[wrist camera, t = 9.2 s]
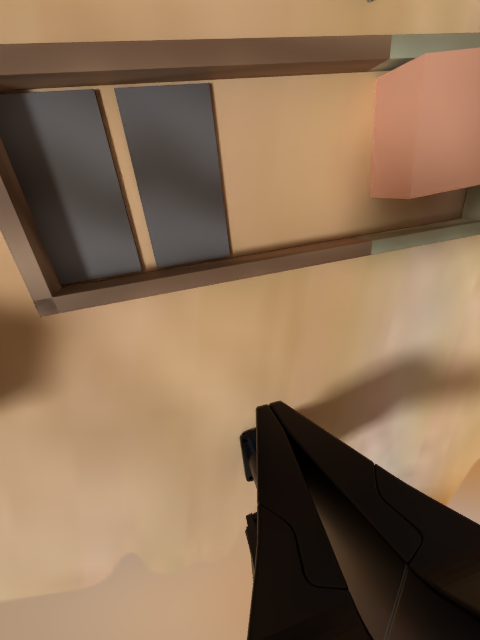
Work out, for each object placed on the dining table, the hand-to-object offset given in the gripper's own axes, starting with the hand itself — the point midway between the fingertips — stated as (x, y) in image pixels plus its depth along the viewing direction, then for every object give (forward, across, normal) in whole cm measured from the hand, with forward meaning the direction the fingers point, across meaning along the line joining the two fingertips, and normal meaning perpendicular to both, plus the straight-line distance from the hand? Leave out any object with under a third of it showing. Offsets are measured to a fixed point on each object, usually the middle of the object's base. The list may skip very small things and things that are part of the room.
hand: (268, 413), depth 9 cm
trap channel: (+13, -7, -7) cm, 16 cm away
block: (+13, -16, -8) cm, 23 cm away
